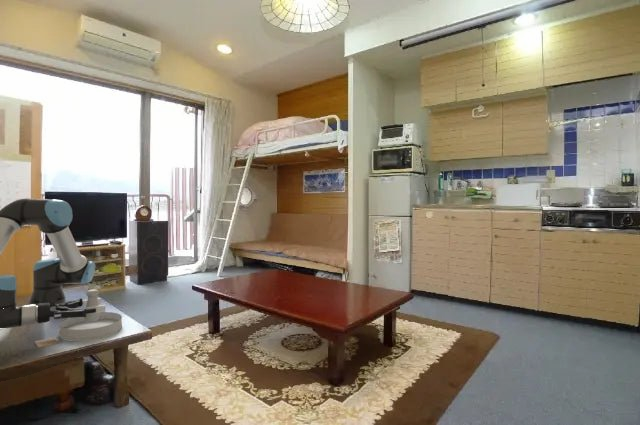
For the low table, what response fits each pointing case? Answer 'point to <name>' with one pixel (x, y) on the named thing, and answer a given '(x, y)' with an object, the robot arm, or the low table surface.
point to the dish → (90, 327)
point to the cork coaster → (46, 342)
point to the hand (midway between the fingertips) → (102, 304)
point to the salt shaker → (92, 305)
